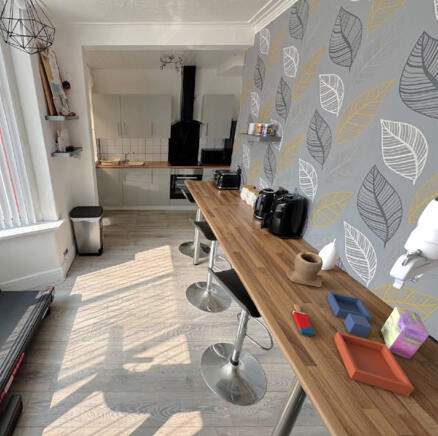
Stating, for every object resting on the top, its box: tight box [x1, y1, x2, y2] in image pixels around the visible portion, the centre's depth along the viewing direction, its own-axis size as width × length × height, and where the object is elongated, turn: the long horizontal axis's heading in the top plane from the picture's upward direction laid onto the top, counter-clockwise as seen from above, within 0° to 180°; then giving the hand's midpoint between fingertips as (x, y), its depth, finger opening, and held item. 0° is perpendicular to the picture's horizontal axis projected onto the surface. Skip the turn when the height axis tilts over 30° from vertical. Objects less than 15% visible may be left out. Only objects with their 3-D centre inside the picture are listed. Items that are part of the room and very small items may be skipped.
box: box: [380, 306, 430, 360], centre depth 79 cm, size 10×6×12 cm, turn 147°
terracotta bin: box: [333, 331, 415, 397], centre depth 74 cm, size 14×15×4 cm
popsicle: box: [292, 303, 315, 338], centre depth 90 cm, size 4×2×15 cm
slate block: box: [343, 313, 373, 339], centre depth 86 cm, size 5×5×5 cm
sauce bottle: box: [318, 238, 339, 271], centre depth 118 cm, size 8×8×18 cm
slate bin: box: [326, 291, 373, 324], centre depth 95 cm, size 11×11×4 cm
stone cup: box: [286, 251, 324, 288], centre depth 109 cm, size 15×12×15 cm
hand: (405, 284), depth 76 cm, fingers open, 8 cm apart
